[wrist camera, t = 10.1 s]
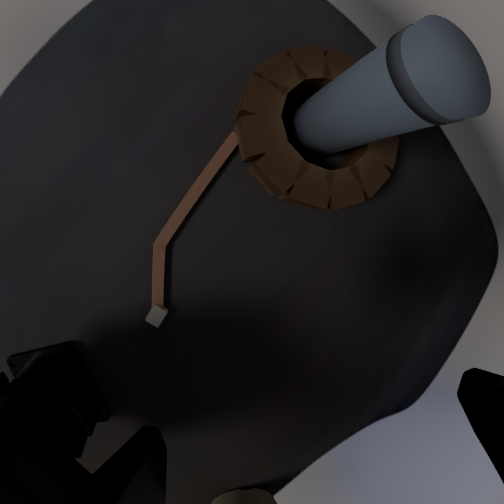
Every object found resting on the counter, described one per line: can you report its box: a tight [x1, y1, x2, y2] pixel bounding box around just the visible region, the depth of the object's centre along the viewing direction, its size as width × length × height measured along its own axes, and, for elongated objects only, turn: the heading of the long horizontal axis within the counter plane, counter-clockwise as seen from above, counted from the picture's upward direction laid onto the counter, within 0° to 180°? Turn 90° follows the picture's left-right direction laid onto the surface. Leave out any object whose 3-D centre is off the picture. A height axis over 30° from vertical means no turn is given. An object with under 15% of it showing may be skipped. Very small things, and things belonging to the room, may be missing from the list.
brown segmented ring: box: [234, 46, 399, 210], centre depth 17 cm, size 10×10×2 cm
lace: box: [145, 131, 239, 328], centre depth 18 cm, size 12×3×1 cm, turn 144°
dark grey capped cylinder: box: [286, 15, 491, 158], centre depth 13 cm, size 4×4×12 cm
